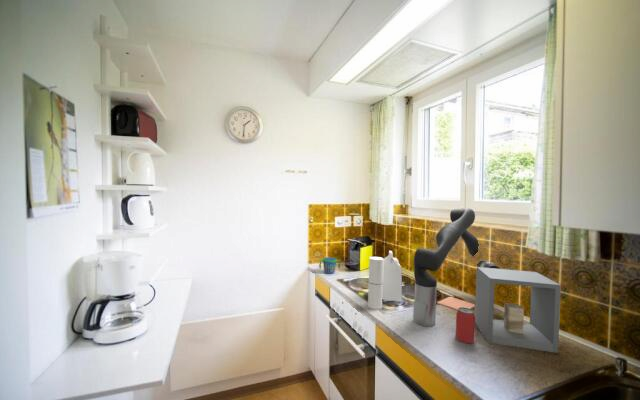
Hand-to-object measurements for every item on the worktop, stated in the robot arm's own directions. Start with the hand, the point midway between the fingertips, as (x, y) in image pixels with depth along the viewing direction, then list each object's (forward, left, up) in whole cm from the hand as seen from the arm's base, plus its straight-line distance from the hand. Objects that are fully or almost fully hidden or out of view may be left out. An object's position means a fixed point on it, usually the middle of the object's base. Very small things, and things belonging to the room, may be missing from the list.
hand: (503, 280), depth 121 cm
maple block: (-10, -7, -17) cm, 21 cm away
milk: (-18, +49, -20) cm, 56 cm away
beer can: (-29, +4, -20) cm, 35 cm away
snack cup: (-15, +104, -20) cm, 107 cm away
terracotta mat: (+4, +22, -20) cm, 30 cm away
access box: (-10, -7, -20) cm, 23 cm away
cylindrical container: (-34, +46, -20) cm, 61 cm away
